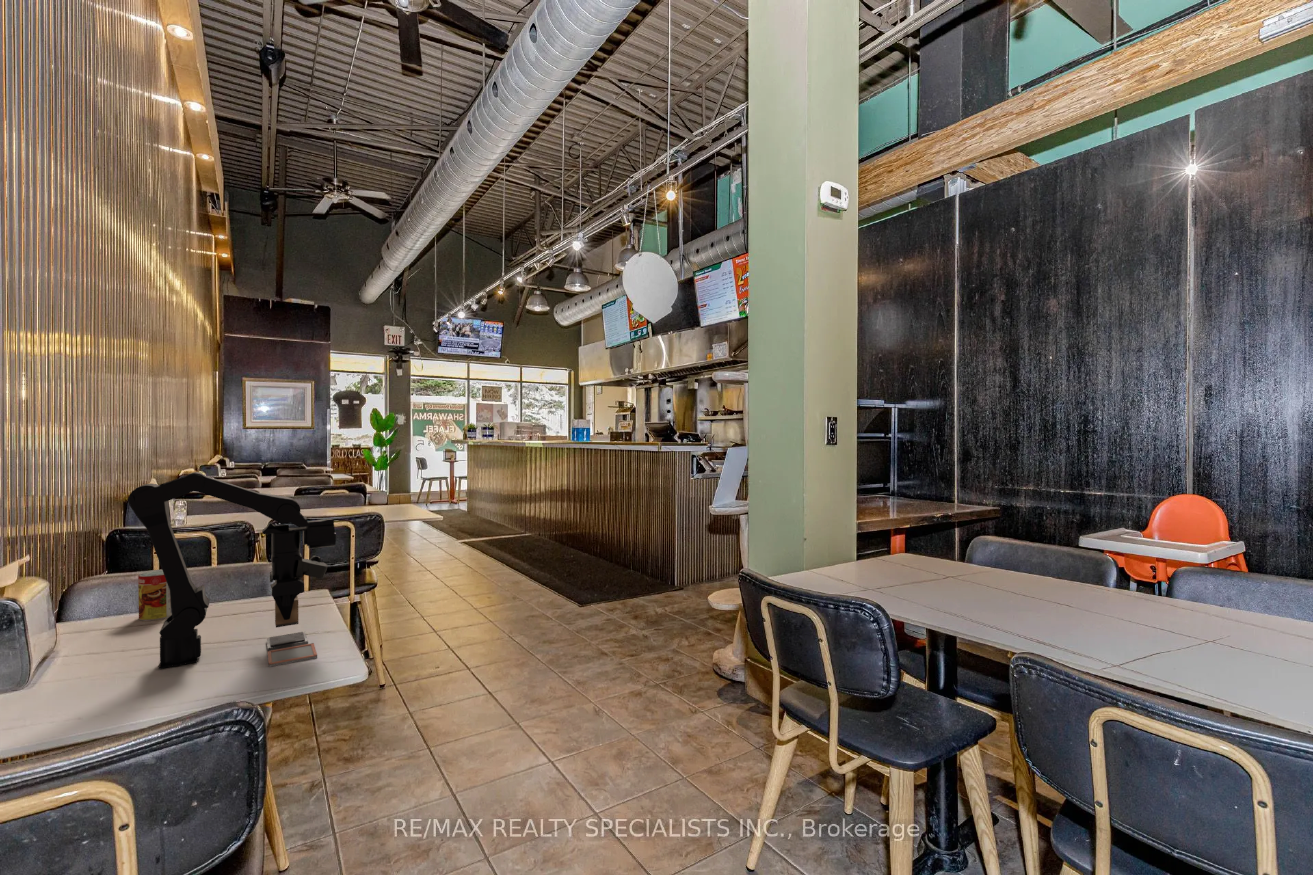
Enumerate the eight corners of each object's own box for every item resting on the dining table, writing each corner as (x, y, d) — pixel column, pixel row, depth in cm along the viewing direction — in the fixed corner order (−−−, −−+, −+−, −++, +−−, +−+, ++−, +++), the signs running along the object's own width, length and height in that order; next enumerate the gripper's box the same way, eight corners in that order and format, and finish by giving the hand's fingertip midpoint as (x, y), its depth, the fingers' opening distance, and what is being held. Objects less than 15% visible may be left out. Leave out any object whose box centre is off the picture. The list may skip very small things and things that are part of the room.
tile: (268, 666, 127) (268, 663, 127) (267, 653, 135) (267, 651, 135) (317, 657, 132) (317, 654, 132) (313, 645, 140) (313, 642, 140)
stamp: (275, 627, 138) (275, 601, 138) (275, 622, 142) (274, 597, 142) (298, 623, 141) (298, 598, 141) (297, 619, 145) (297, 594, 145)
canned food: (144, 614, 165) (144, 570, 165) (180, 610, 168) (179, 567, 168) (134, 622, 158) (133, 576, 158) (171, 618, 161) (170, 573, 161)
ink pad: (267, 651, 136) (267, 646, 136) (266, 641, 143) (266, 636, 143) (308, 644, 140) (308, 639, 140) (305, 634, 147) (305, 630, 147)
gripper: (329, 553, 138) (329, 620, 138) (321, 541, 154) (321, 602, 154) (271, 559, 132) (272, 629, 132) (269, 546, 147) (269, 609, 147)
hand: (286, 616), depth 141 cm, fingers closed on stamp, 4 cm apart
